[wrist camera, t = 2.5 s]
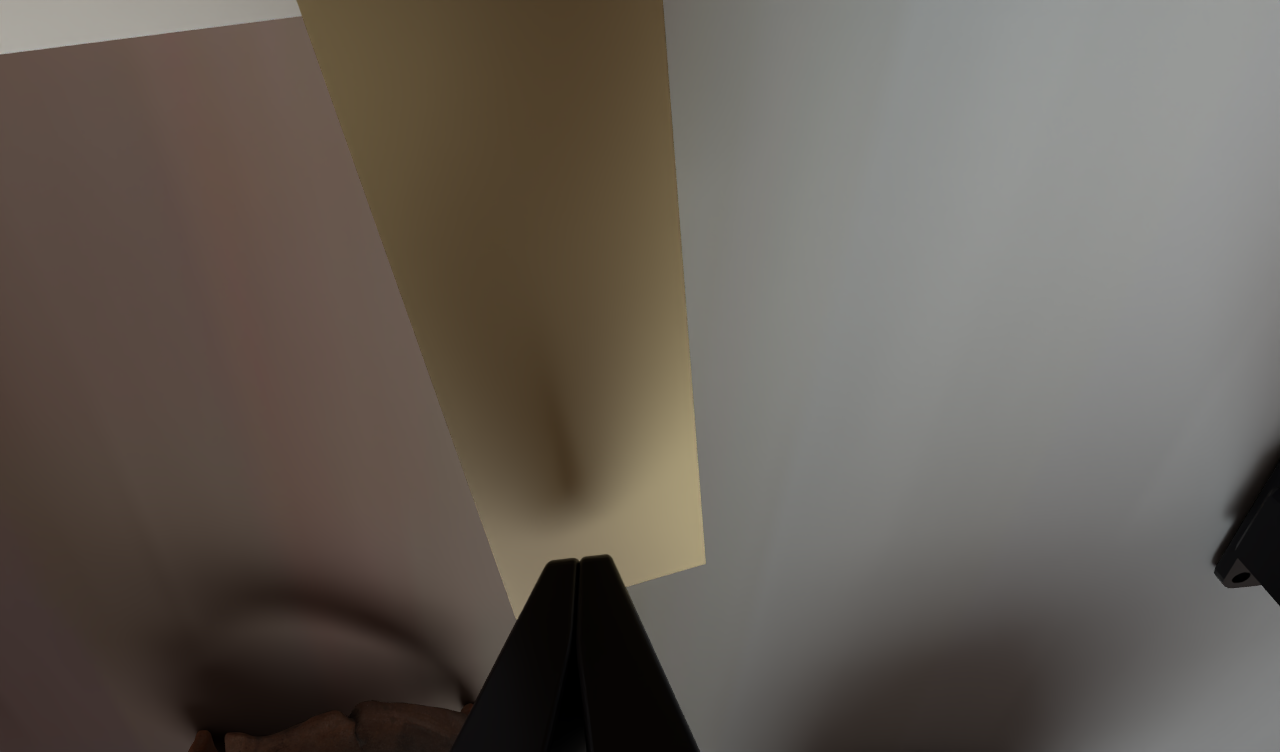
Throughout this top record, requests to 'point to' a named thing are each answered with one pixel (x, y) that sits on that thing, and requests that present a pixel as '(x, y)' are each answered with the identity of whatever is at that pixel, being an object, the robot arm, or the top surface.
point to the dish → (122, 19)
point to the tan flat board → (535, 260)
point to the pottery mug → (355, 731)
